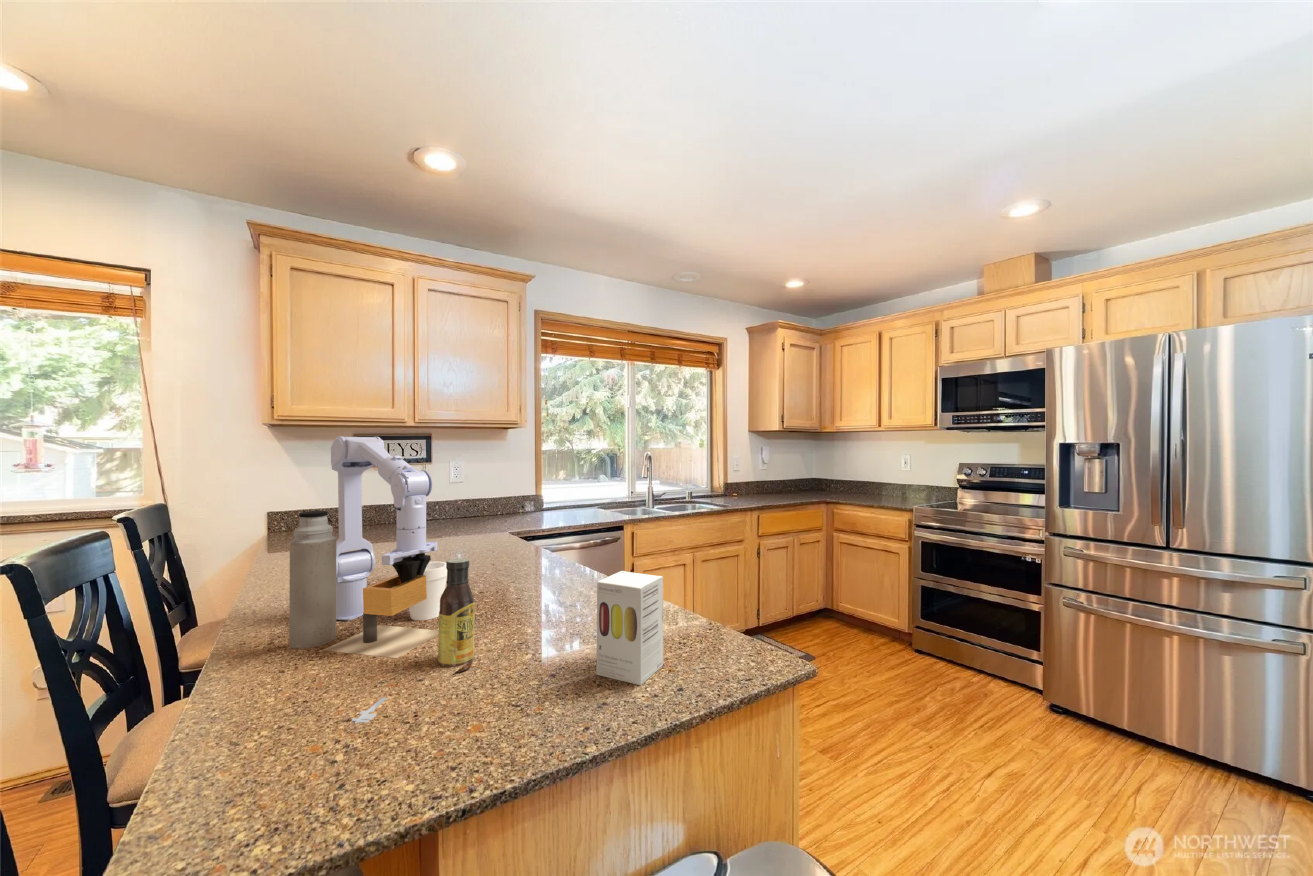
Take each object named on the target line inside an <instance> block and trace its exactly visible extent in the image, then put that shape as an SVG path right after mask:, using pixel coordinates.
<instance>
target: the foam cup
mask: <svg viewBox="0 0 1313 876" xmlns="http://www.w3.org/2000/svg"><path fill="white" fill-rule="evenodd" d="M423 575H426V593H427V599H425V600H423V601H421V602H419V603H417V604H415V605H413V606H411V607H409V608H408V609H409V616H410V620H414V621H427V620H428V621H429V620H432V619H436V618H439V611H440V598H441V595H442V594H443V592H444V590H445V588H446V587H447V568H446V562H443V561H429V563H428V565H427V567H426V569H425V571H424V574H423Z"/></svg>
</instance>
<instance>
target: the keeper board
mask: <svg viewBox="0 0 1313 876" xmlns="http://www.w3.org/2000/svg"><path fill="white" fill-rule="evenodd" d="M362 619H363V620H362V632H359V633H357V634H355V635H353V636H351V637H348V638H346V639H344V640H341V641H339V642H337V643H335V644H333V645H331V646H328V647H326V648H324V649H323V651H326V652H335V653H344V654H345V653H346V654H351V655H353V654H354V655H364V656H373V657H382V658H391V659H397V658H399V657H402V656H403V655H405V654H407V653H408V652H410V651H412V650H414V649H415V648H417V647H419V646H421V645H423V644H424V643H425V642H428V641H430V640H431V639H433V638H435V637H437V636H439V629H438V630H435V629H426V628H416V627H415V628H413V627H403V626H393V625H381V624H378V615H374V614H364V612H363V616H362Z"/></svg>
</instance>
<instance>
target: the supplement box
mask: <svg viewBox="0 0 1313 876" xmlns="http://www.w3.org/2000/svg"><path fill="white" fill-rule="evenodd" d="M662 666H664V576H662V575H654V574H648V573H647V574H646V573H638V572H631V571H626V570H621V571H618V572H615V573H613V574H611V575H609V576H607V577H605V578H602V579H600V580H598V581H597V582H596V665H595V667H596V668H595V671H596V673H595V674H596V675H597V676H602V677H603V678H609V679H611V680H612V679H613V680H617V681H621V682H626V683H630V684H634V685H638V686H642V685H643V684H644V683H645V682H646V681H647V680H649V678H651V676H653V675H654V674H655V673H656V672H658V670H660V669H661V667H662Z"/></svg>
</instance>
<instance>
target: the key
mask: <svg viewBox="0 0 1313 876" xmlns="http://www.w3.org/2000/svg"><path fill="white" fill-rule="evenodd" d="M386 700H388V697H381V698H380V699H379V700H378V701H377V702H375V703H374V704H373V705H371V706H370V707H369V708H368V709H367V710H362V711H360V712H359V716H358V717H356V718H355V717H354V718H352V719H351V721H352V722H354V724H359V723H360V724H361V723H367V724H368V723H369V722H370V721H372V720H373V718H375V717H376V716H377V713H373V712H375V710H376V709H377V708H378V707H379V706H380V705H382V703H384V702H385V701H386Z"/></svg>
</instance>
